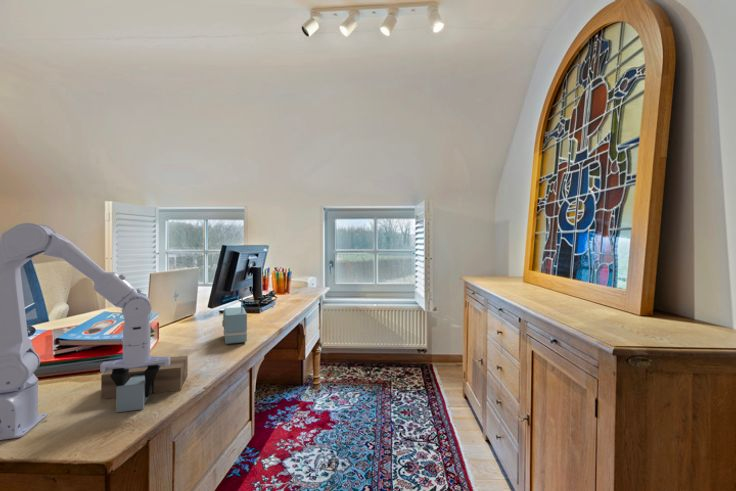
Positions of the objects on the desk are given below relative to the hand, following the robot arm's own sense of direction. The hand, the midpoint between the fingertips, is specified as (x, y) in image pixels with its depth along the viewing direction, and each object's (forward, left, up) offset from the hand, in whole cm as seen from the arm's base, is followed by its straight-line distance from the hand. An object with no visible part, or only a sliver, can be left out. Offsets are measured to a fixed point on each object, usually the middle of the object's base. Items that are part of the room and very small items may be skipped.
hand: (136, 396), depth 85 cm
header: (+10, 0, -1) cm, 10 cm away
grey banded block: (+51, -20, -2) cm, 55 cm away
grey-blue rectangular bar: (+4, 0, -1) cm, 4 cm away
